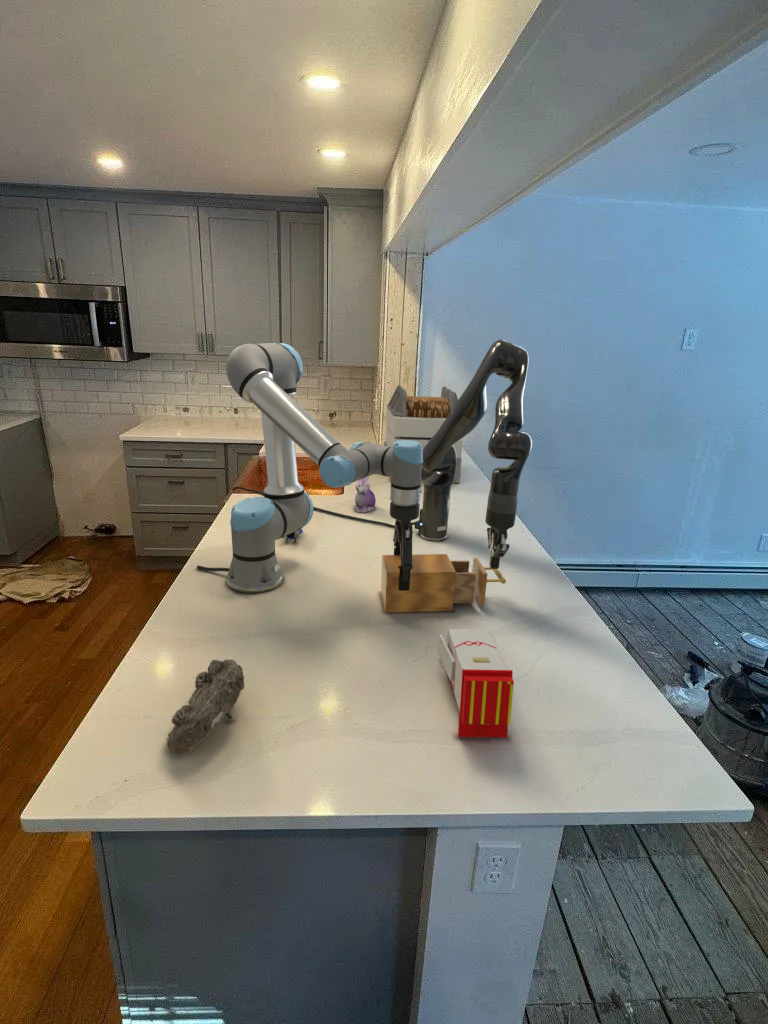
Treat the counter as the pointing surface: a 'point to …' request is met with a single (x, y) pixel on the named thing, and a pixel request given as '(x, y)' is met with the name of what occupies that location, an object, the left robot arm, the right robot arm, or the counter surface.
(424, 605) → the cabinet
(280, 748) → the counter surface
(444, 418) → the grey boxy piece
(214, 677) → the fossil
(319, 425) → the left robot arm
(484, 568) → the drawer
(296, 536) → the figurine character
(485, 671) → the toy
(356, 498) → the figurine
